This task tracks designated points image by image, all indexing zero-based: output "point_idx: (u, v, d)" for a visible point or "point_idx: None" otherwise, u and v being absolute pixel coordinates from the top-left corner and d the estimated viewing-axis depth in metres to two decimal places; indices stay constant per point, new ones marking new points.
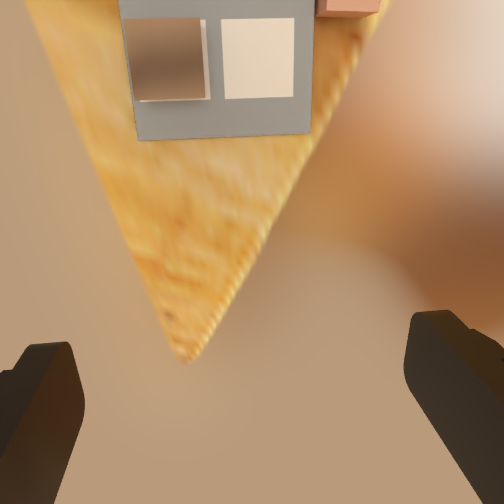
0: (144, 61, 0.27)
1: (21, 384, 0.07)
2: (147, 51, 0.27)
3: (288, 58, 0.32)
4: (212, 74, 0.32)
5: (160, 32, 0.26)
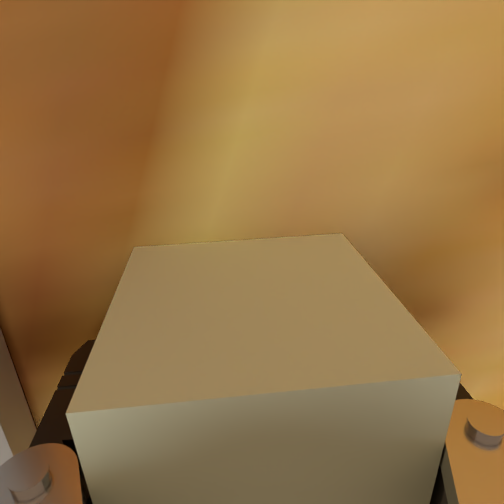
0: None
1: None
2: None
3: None
4: None
5: None
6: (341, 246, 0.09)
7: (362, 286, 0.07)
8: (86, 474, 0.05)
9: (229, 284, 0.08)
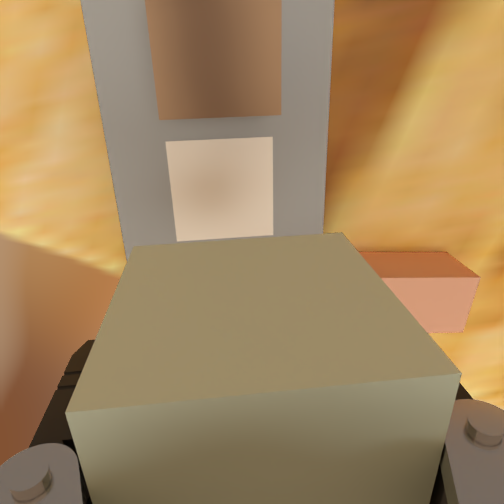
0: (214, 4, 0.15)
1: None
2: (230, 13, 0.15)
3: (226, 230, 0.24)
4: (199, 122, 0.21)
5: (260, 43, 0.15)
6: (341, 246, 0.09)
7: (362, 285, 0.07)
8: (86, 473, 0.05)
9: (230, 283, 0.07)
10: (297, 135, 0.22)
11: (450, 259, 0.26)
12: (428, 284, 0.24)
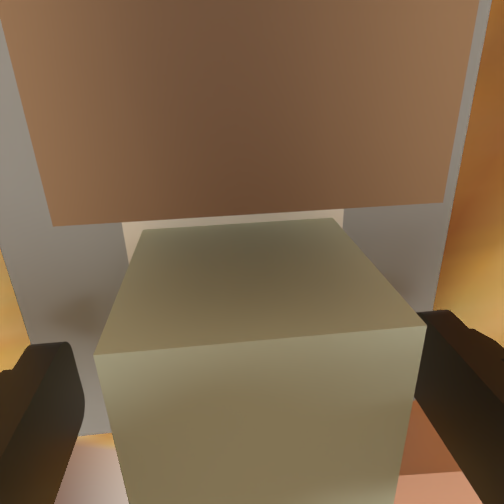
0: None
1: (21, 384, 0.07)
2: None
3: None
4: None
5: None
6: (331, 228, 0.10)
7: (348, 260, 0.08)
8: (108, 412, 0.06)
9: (230, 259, 0.08)
10: None
11: None
12: None
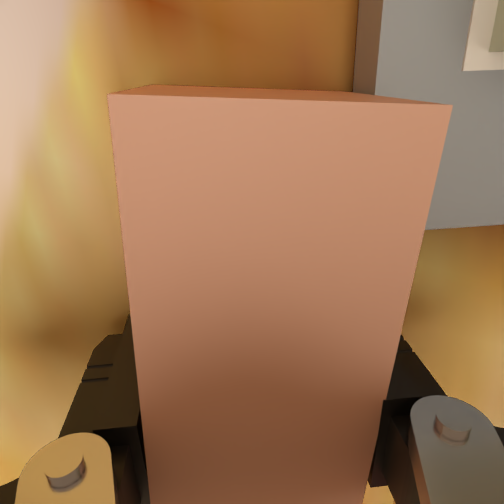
0: None
1: None
2: None
3: None
4: None
5: None
6: None
7: None
8: None
9: None
10: None
11: None
12: None
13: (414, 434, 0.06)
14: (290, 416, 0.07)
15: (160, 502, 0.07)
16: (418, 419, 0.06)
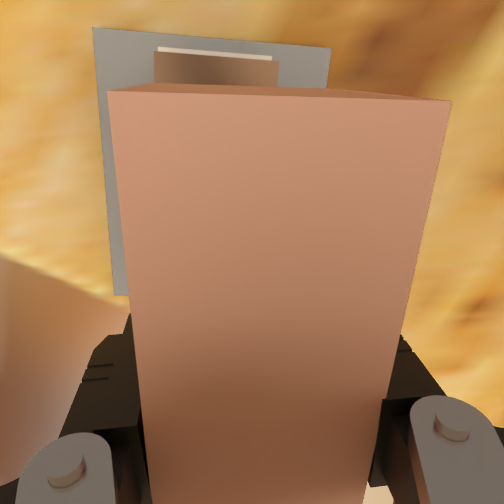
0: (216, 84, 0.16)
1: None
2: None
3: None
4: None
5: None
6: None
7: None
8: None
9: None
10: None
11: None
12: None
13: (414, 434, 0.06)
14: (290, 413, 0.07)
15: (161, 499, 0.07)
16: (417, 419, 0.06)
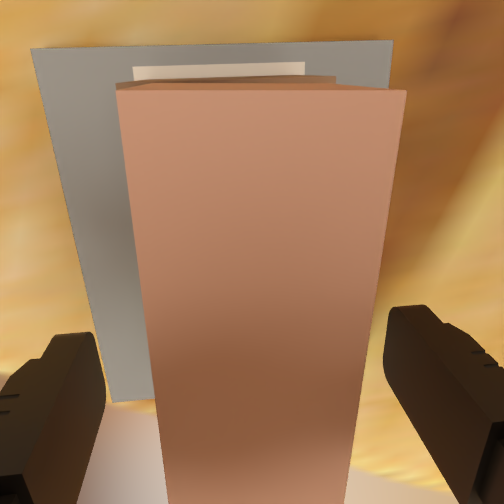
0: None
1: (51, 371, 0.07)
2: None
3: None
4: None
5: None
6: None
7: None
8: None
9: None
10: None
11: None
12: (326, 498, 0.09)
13: None
14: (281, 371, 0.07)
15: (170, 452, 0.08)
16: None
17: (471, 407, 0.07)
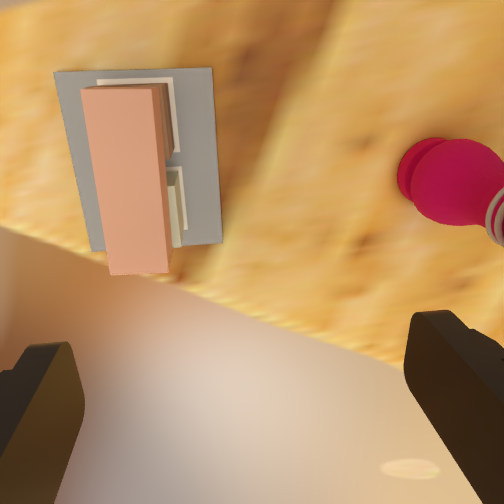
0: None
1: (21, 384, 0.07)
2: None
3: None
4: None
5: None
6: (174, 173, 0.33)
7: (170, 178, 0.32)
8: None
9: None
10: (197, 165, 0.34)
11: (170, 252, 0.30)
12: (157, 229, 0.27)
13: None
14: (133, 173, 0.25)
15: (101, 203, 0.25)
16: None
17: None
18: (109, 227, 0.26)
